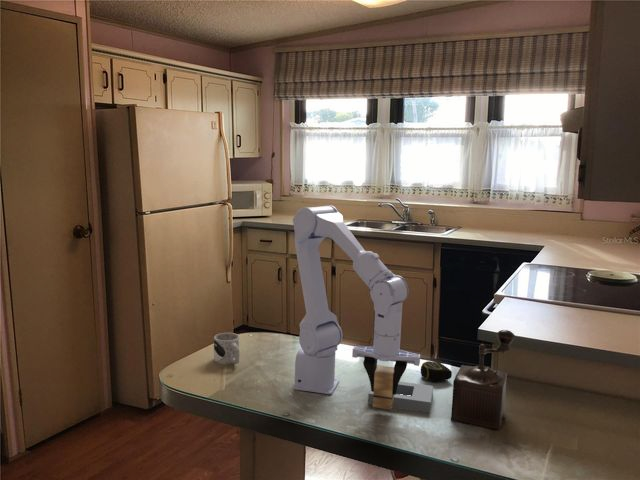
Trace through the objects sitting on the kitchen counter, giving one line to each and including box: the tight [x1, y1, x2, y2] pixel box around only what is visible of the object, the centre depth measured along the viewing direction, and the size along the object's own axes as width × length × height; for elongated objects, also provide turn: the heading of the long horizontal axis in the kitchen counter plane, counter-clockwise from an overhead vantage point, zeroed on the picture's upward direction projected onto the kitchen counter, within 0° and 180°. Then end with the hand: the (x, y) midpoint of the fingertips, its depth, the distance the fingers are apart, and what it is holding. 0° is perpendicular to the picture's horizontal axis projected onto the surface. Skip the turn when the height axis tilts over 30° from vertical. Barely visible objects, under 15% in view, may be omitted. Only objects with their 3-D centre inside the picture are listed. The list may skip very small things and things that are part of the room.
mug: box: [213, 332, 240, 366], centre depth 147 cm, size 10×7×7 cm
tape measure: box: [420, 360, 453, 382], centre depth 141 cm, size 7×7×4 cm
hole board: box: [367, 381, 434, 414], centre depth 128 cm, size 14×9×2 cm, turn 75°
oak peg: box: [372, 364, 394, 410], centre depth 121 cm, size 4×4×8 cm
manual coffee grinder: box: [450, 329, 516, 432], centre depth 123 cm, size 16×11×18 cm
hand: (383, 391), depth 121 cm, fingers closed on oak peg, 4 cm apart
